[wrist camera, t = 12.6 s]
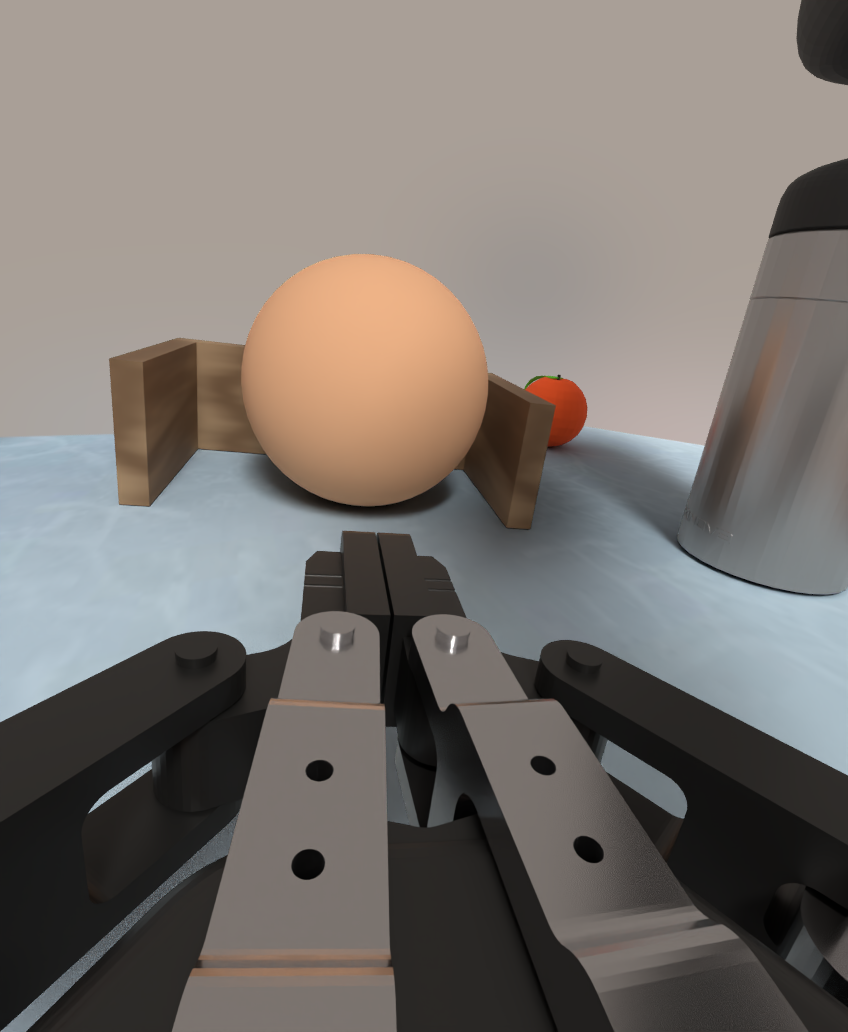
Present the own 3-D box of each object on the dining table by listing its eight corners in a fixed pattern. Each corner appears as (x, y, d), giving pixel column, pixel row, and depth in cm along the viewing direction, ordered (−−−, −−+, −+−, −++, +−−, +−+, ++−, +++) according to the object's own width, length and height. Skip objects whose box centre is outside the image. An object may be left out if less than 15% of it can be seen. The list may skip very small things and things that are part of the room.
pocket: (477, 465, 47) (492, 373, 44) (530, 529, 34) (555, 405, 32) (181, 441, 42) (178, 337, 40) (119, 504, 30) (109, 358, 27)
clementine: (490, 435, 59) (502, 365, 57) (537, 433, 63) (550, 368, 61) (545, 456, 53) (561, 379, 51) (593, 453, 57) (610, 382, 55)
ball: (466, 569, 30) (422, 490, 43) (566, 304, 26) (485, 304, 39) (194, 506, 27) (235, 440, 39) (261, 187, 23) (283, 229, 35)
